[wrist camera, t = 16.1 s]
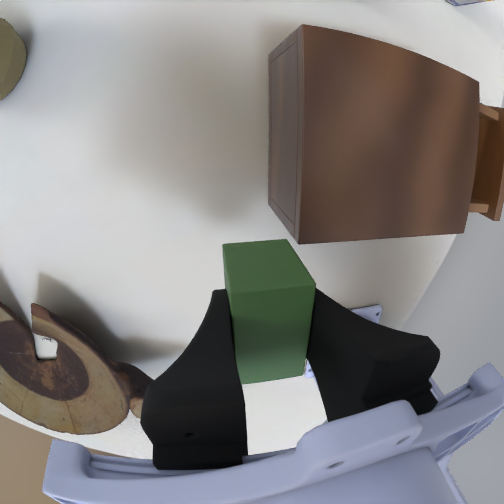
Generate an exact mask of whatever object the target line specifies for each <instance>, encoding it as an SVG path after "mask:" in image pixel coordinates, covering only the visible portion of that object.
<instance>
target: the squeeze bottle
mask: <svg viewBox="0 0 504 504" xmlns="http://www.w3.org/2000/svg"><path fill="white" fill-rule="evenodd" d="M26 54H27V52H26V48H25V44H24V42H23V41H22V39H21V38H20V36H19V35H18V34H17V32H16V31H15V29H14V28H13V26H12V25H11V24H10V23H8V22H7V21H6V20H5V19H1V18H0V100H1V99H3V98H5V97H6V96H7V95H8V94H9V93H10V92H11V91H12V90H13V89H14V87H15V86H16V84H17V82H18V81H19V79H20V78H21V75H22V72H23V69H24V67H25V62H26Z"/></svg>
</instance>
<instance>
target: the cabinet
mask: <svg viewBox="0 0 504 504" xmlns="http://www.w3.org/2000/svg"><path fill="white" fill-rule="evenodd" d="M268 56H269V196H268V204H269V206H270V207H271V208H272V210H273V211H274V212H275V214H276V215H277V216H278V218H279V219H280V220H281V222H282V223H283V225H284V226H285V227H286V229H287V230H288V231H289V233H290V234H291V235H292V237H293V238H294V239H295V241H296V242H297V243H298V244H299V245H300V244H314V243H328V242H342V241H357V240H371V239H386V238H400V237H415V236H430V235H445V234H460V233H464V229H465V225H466V221H467V216H468V211H469V206H470V201H471V195H472V189H473V183H474V176H475V168H476V159H477V149H478V135H479V82H478V81H476V80H474V79H472V78H471V77H469V76H467V75H465V74H463V73H461V72H459V71H457V70H455V69H453V68H450V67H448V66H446V65H444V64H442V63H439V62H437V61H435V60H432V59H430V58H427V57H425V56H422V55H420V54H417V53H415V52H412V51H409V50H406V49H404V48H401V47H398V46H395V45H392V44H388V43H385V42H382V41H378V40H375V39H371V38H368V37H364V36H360V35H356V34H352V33H348V32H343V31H338V30H334V29H328V28H323V27H317V26H311V25H304V24H302V25H301V26H300V27H298V29H296V30H295V31H294V32H293V33H292V34H291V35H289V36H288V37H287V38H286V39H285V40H284V41H283V42H282V43H281V44H280V45H279V46H278V47H277V48H275V49H274V50H273V51H272V52H271V53H270V54H269V55H268Z"/></svg>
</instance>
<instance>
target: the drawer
mask: <svg viewBox="0 0 504 504" xmlns="http://www.w3.org/2000/svg"><path fill="white" fill-rule="evenodd" d="M503 202H504V108H499V107H493V106H486V105H483V104H481V103H479V135H478V149H477V159H476V168H475V176H474V183H473V189H472V195H471V201H470V206H469V211H468V212H478V213H480V214H482V215H484V216H486V217H488V218H490V219H491V220H493V221H499V220H500V217H501V212H502V208H503Z"/></svg>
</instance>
